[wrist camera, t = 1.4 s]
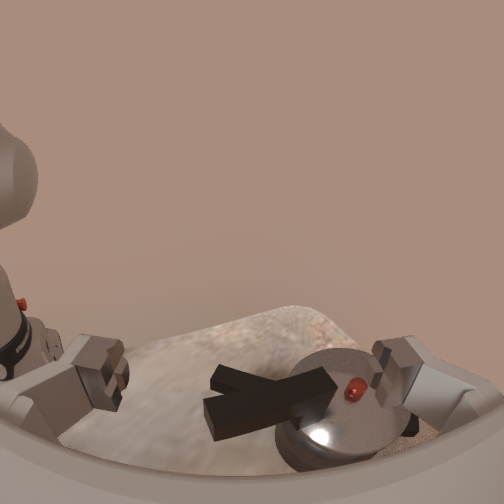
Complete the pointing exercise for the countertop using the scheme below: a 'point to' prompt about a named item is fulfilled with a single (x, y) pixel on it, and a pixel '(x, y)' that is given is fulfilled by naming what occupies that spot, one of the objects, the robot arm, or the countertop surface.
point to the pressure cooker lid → (314, 406)
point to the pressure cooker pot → (286, 437)
